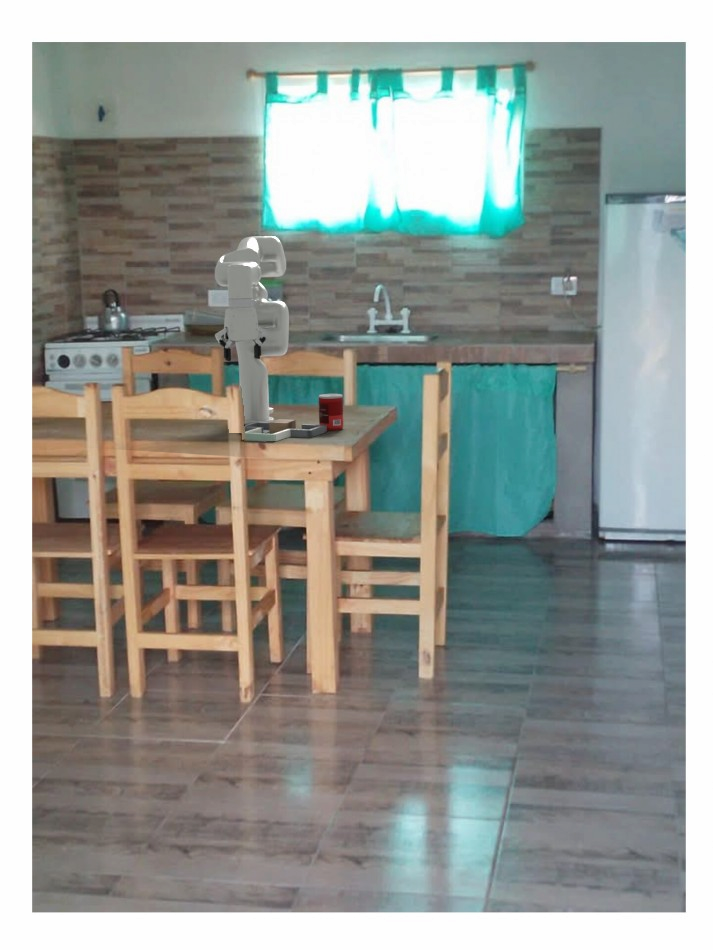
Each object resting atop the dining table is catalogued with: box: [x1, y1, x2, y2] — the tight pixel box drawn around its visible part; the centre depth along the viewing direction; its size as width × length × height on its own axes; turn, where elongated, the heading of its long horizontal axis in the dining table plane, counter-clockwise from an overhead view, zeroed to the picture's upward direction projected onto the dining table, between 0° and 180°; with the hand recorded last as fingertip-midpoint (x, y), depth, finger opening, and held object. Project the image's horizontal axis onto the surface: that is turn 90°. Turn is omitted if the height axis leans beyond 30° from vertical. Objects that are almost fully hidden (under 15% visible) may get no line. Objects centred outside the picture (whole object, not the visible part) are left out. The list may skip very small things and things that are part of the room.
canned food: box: [318, 393, 344, 432], centre depth 401 cm, size 8×8×11 cm
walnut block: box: [268, 418, 297, 434], centre depth 395 cm, size 7×6×4 cm
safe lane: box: [245, 428, 292, 442], centre depth 385 cm, size 11×11×2 cm
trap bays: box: [244, 422, 328, 438], centre depth 395 cm, size 11×25×2 cm, turn 66°
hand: (242, 359), depth 388 cm, fingers open, 9 cm apart
